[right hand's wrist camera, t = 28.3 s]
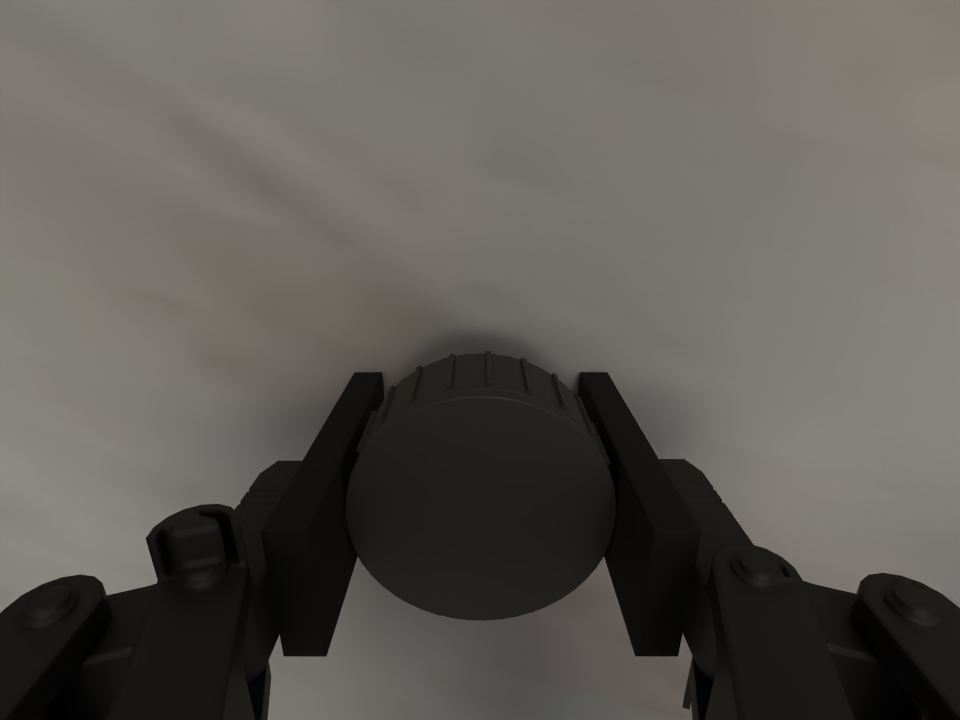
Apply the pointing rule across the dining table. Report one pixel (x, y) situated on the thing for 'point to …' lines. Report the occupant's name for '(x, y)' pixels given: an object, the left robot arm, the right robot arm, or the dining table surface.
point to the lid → (480, 489)
